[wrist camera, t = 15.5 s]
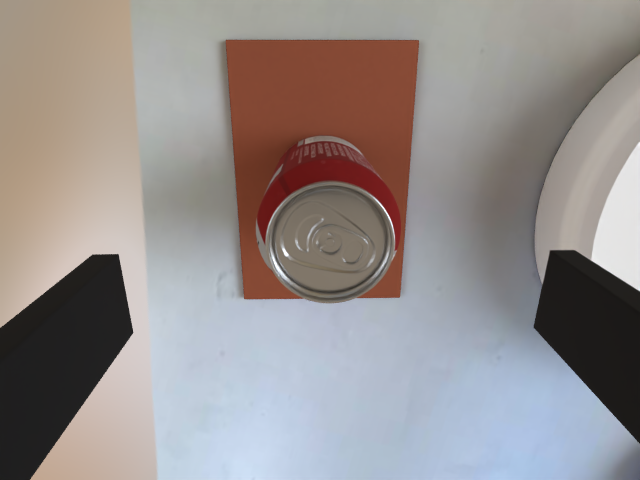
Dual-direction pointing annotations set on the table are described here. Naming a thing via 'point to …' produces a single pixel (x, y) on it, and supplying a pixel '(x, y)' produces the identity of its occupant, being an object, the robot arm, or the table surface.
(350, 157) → the soda can
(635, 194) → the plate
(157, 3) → the table surface
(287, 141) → the mat
